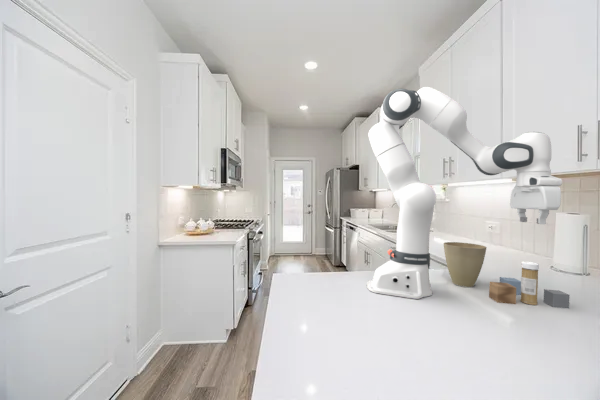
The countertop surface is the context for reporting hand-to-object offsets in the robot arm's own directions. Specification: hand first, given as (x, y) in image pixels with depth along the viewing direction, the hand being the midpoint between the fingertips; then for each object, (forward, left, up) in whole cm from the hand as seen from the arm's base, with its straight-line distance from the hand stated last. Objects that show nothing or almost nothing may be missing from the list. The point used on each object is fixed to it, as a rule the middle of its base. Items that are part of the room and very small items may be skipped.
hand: (531, 223), depth 94 cm
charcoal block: (+8, 0, -27) cm, 28 cm away
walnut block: (-8, 0, -27) cm, 28 cm away
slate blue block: (0, +11, -27) cm, 29 cm away
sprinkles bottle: (0, 0, -27) cm, 27 cm away
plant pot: (-14, +17, -27) cm, 35 cm away
